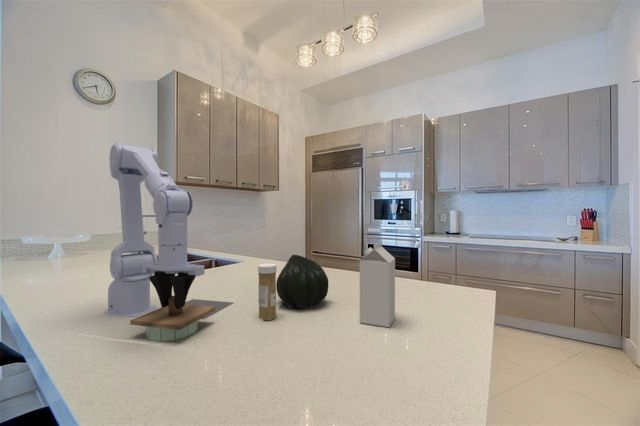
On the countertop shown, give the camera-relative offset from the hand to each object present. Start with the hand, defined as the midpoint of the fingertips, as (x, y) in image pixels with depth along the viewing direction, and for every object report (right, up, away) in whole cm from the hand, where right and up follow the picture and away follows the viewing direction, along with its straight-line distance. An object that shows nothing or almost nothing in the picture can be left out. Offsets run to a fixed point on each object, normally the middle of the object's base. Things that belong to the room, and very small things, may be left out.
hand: (173, 306), depth 65 cm
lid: (0, -3, +1) cm, 3 cm away
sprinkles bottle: (+19, -6, +9) cm, 22 cm away
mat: (-1, -6, +16) cm, 17 cm away
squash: (+27, -6, +21) cm, 35 cm away
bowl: (0, -6, 0) cm, 6 cm away
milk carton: (+46, -6, +7) cm, 47 cm away
